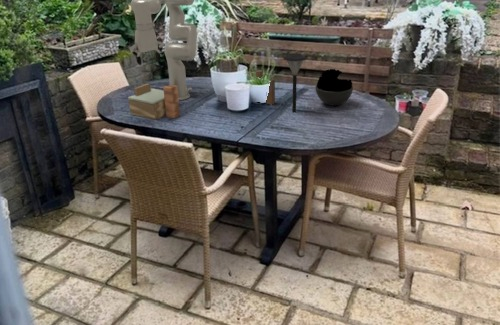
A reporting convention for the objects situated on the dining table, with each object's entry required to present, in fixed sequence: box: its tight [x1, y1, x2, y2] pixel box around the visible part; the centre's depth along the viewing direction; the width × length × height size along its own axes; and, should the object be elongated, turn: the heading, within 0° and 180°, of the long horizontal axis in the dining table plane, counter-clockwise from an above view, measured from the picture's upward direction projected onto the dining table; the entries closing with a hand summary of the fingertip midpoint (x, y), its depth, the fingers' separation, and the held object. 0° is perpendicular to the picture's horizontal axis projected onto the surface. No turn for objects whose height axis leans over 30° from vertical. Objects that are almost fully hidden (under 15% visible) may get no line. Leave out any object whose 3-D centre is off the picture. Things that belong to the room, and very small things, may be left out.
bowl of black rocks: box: [315, 68, 354, 106], centre depth 241 cm, size 20×20×19 cm
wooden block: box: [255, 69, 276, 105], centre depth 247 cm, size 4×11×18 cm, turn 60°
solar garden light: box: [282, 53, 308, 113], centre depth 230 cm, size 12×12×30 cm
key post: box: [162, 84, 181, 119], centre depth 232 cm, size 5×5×16 cm
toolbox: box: [128, 99, 166, 121], centre depth 241 cm, size 18×18×8 cm
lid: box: [127, 83, 165, 104], centre depth 238 cm, size 18×18×5 cm
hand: (149, 62), depth 221 cm, fingers open, 9 cm apart
